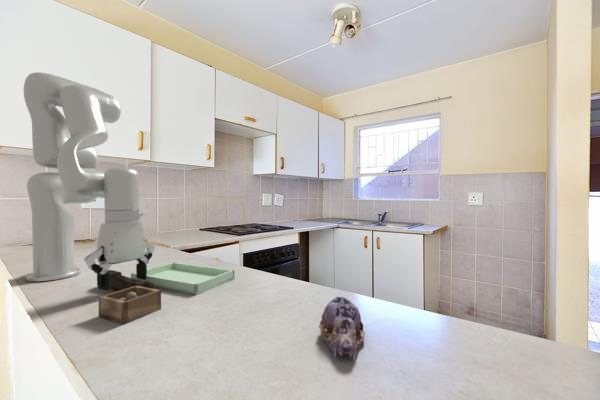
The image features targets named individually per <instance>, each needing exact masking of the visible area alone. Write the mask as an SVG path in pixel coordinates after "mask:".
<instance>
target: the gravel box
mask: <svg viewBox="0 0 600 400" xmlns="http://www.w3.org/2000/svg"><path fill="white" fill-rule="evenodd" d="M159 310H162V290H160V289H156V288H153V289H152V288H147V287H142V286H137V285H136V286H133V287H130V288H127V289H123V290H117V291H114V292H110V293H107V294H104V295H100V296H98V318H102V319H105V320H108V321H113V322H115V323H119V324H122V325H126V324H128V323H130V322H131V323H132V322H133V321H136V320H138V319H140V318H143V317H146V316H148V315H149V314H152V313H154V312H157V311H159Z"/></svg>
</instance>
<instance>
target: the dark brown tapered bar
mask: <svg viewBox="0 0 600 400" xmlns="http://www.w3.org/2000/svg"><path fill="white" fill-rule="evenodd" d="M106 273H108V274H109V290H112V291H113V290H118V291H120V290H123V289H127V288H130V287H133V286H136V285H137V286H142V287H147V288H152V289H154V288H155V287H154V284H153V282H151V281H142V280H139V279H133V278H131V277H129V276H126V275H122V272H121V271H117V270H114V269H113V270H111V269H108V271H107V272H106Z"/></svg>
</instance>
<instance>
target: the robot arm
mask: <svg viewBox="0 0 600 400" xmlns="http://www.w3.org/2000/svg"><path fill="white" fill-rule="evenodd" d="M23 99H24V103H25V105H26V107H27V108H26V109H27V111H28V114H29V117H30V119H31V133H32V134H31V135H32V137H31V138H32V153H33V154H32V155H33V160H34V162H35V163H36V164H37V165H38V166H40V167H42V168H48V169H57V172H50V171H49V172H48V171H47V172H45V171H44V172H39V173H35V174H33V175H31V176H30V177H29V178H28V180H27V183H26V188H27V189H26V190H27V195H28V198H29V202H30V208H31V224H32V225H31V226H32V228H31V230H32V272H31V273H28V274H27V275H26V276H25V280H26V281H28V282H48V281H57V280H61V279H66V278H70V277H71V278H72V277H73V276H77V275H79V274H81V268H80V267H79V266H75V225H74V224H75V223H74V217H73V213H72V212H71V211H70V210H69V209H68V208H67V207H66V205H68V204H89V203H93V202H95V201H96V200H97V198H101V199H102V198H103V199H104V223H101V224H100V228H99V232H98V236H97V237H98V238H97V245H96V250H95V251H92V252H91V253H90V254H88V255H87V256H85V257H84V259H83V260H84V263H85V264H86V265H87V267H88V269H90V270H91V271H93V272H94V274H96V286H97V287H98V290H101V291H109V290H110V289H109V274H108V273H106V272H107V271H108V270H110V268H111V267H112V265H117V264H121V263H126V262H130V261H131V262H132V261H135V260H136V262H137V263H136V266H135V268H136V269H135V272H136V276H137V278H138V279H146V274H147V269H148V268H147V267H148V266H147V265H148V264H149V263H150V260H151V258H152V257H153V254H154V251H155V248H156V246H155V245H153V244H150V243H147V242H146V237H145V231H144V224H143V222H142V220H141V217H143V216H144V212H143V211H140V175H139V173H138V171H137V170H136V169H134V168H133V169H132V168H126V167H125V168H122V167H116V168H115V167H113V168H111V167H110V168H108V169H103V168H100V167H99V156H98V152H97V150H96V148H95V147H97V146H100V145H102V144H105V142H107V141H108V138H109V133H108V130H107V127H106V124H112V123H116V122H117V121H119V119H120V117H121V112H122V109H121V106H120V103H119V101H118V99H116V98H115V97H114V96H113V95H111V94H108V93H106V92H104V91H101V90H99V89H97V88H94V87H91V86H88V85H87V84H84V83H83V84H82V83H79V82H76V81H73V80H69V79H67V78H65V77H61V76H58V75H54V74H50V73H45V72H40V71H39V72H38V71H37V72H31V73H30V74H28V75H27V76H26V77H25V79H24V84H23ZM57 107H60V108H62V111H63V114H62V112H61V111H60V110H59V109H58V108H57ZM105 123H106V124H105ZM65 204H66V205H65ZM96 261H97V263H98V264H97V263H96Z"/></svg>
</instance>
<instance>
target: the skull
mask: <svg viewBox="0 0 600 400" xmlns="http://www.w3.org/2000/svg"><path fill="white" fill-rule="evenodd" d="M318 328H319V329H320V336H321V338H322V339H323V340H324V341H325V342H326V343H327V345H328V348H329V350H330V351H331V352H332V353H333V355H334V358H335V357H336V356H337V355H340V356H343V354H345V355H348V357H352V358H353V361H354V360H356V359H355V358H356V355H357V353H358V349H359V346H361V345H362V344H363V342H364V339H365V333H366V332H365V330H364V324H363V322H362V317H361V313H360V311H359V308H358V307H357V306H356V305H355V304H354V303H352V302H351V301H350V300H349V299H348V298H347V297H343V296H337V297H335V298H333V299H331V300H330V301H329V302H328V303H327V304H326V306H325V308H324V310H323V312H322V315H321V320H320V322H319V324H318ZM358 336H360V339H359V337H358ZM337 352H338V354H337Z"/></svg>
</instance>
